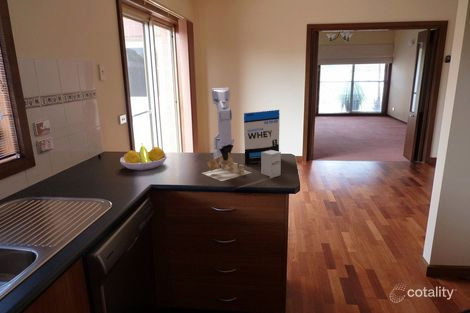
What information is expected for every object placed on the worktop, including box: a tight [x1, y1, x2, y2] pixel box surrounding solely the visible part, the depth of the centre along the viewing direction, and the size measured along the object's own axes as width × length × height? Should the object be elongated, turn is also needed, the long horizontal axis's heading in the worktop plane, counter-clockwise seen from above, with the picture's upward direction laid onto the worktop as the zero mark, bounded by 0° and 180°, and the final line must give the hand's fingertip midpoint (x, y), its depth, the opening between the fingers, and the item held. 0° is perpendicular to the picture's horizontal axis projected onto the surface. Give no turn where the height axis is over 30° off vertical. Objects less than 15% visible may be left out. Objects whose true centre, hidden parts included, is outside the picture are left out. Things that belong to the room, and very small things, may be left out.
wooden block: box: [207, 153, 234, 171], centre depth 173 cm, size 14×2×5 cm, turn 63°
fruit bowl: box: [119, 142, 168, 172], centre depth 196 cm, size 28×27×11 cm
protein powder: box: [243, 109, 280, 166], centre depth 196 cm, size 10×24×30 cm, turn 118°
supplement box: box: [260, 150, 282, 179], centre depth 172 cm, size 7×7×13 cm
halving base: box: [201, 161, 253, 182], centre depth 177 cm, size 18×20×6 cm
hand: (226, 159), depth 171 cm, fingers closed on wooden block, 2 cm apart
